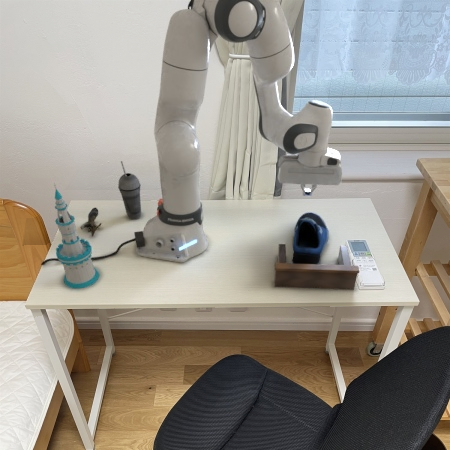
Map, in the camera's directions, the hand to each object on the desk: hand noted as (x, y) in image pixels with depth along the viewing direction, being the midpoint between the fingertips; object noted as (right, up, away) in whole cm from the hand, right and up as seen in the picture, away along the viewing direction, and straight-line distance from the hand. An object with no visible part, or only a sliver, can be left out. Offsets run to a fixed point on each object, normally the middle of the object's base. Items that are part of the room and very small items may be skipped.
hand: (307, 195), depth 152 cm
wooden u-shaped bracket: (-2, -27, -19) cm, 33 cm away
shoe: (-1, -19, -9) cm, 21 cm away
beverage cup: (-58, -6, +6) cm, 59 cm away
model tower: (-69, -28, -19) cm, 77 cm away
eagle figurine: (-71, -12, 0) cm, 72 cm away
